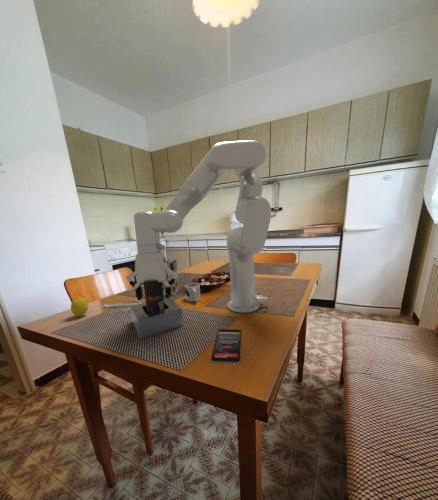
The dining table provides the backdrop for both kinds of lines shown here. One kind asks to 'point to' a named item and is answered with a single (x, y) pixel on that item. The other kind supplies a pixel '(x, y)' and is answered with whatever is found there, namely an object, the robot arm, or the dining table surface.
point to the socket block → (156, 318)
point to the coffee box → (174, 287)
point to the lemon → (79, 306)
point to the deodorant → (154, 296)
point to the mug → (192, 292)
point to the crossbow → (121, 305)
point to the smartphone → (227, 346)
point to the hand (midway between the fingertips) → (154, 298)
